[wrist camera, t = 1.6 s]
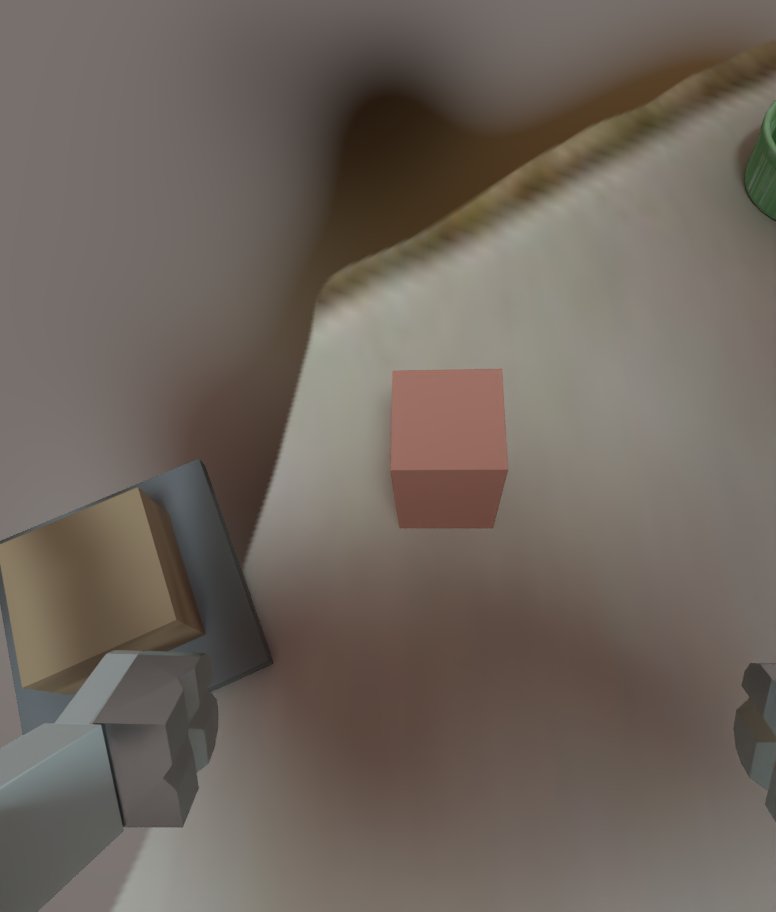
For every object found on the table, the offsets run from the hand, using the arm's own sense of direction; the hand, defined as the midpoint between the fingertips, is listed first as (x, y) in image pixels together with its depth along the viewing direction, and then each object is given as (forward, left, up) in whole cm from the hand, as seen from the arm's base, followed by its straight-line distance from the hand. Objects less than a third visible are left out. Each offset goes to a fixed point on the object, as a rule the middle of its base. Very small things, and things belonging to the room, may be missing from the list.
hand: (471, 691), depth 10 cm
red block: (-5, -11, -23) cm, 26 cm away
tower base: (+13, -12, -23) cm, 29 cm away
